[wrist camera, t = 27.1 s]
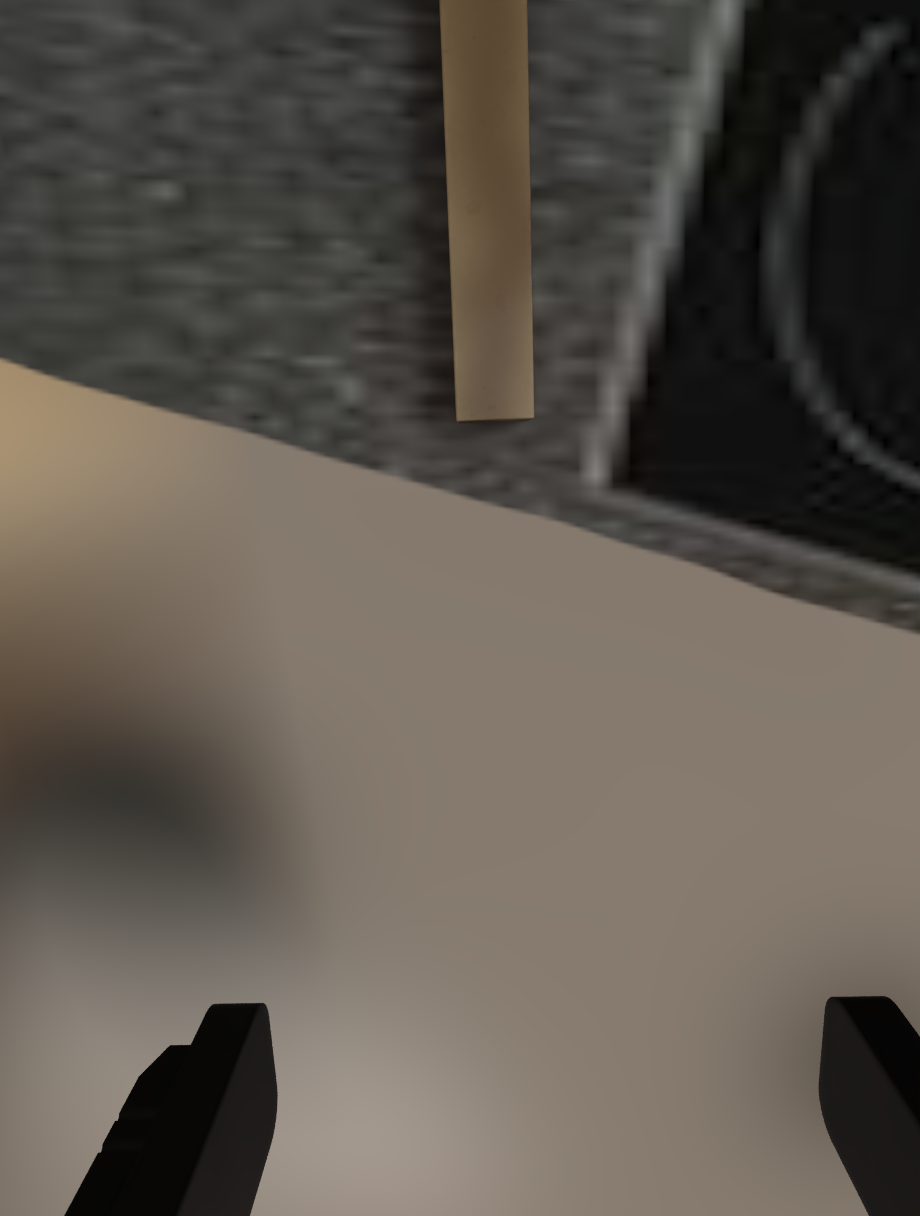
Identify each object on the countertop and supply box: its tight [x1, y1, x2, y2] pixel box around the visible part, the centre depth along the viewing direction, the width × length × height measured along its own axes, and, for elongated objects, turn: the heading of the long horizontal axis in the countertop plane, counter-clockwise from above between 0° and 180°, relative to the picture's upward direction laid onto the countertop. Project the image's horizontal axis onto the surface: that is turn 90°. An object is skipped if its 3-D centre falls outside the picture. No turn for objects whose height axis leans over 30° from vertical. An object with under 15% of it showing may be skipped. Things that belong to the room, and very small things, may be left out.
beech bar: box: [439, 0, 534, 423], centre depth 27 cm, size 3×21×3 cm, turn 2°
